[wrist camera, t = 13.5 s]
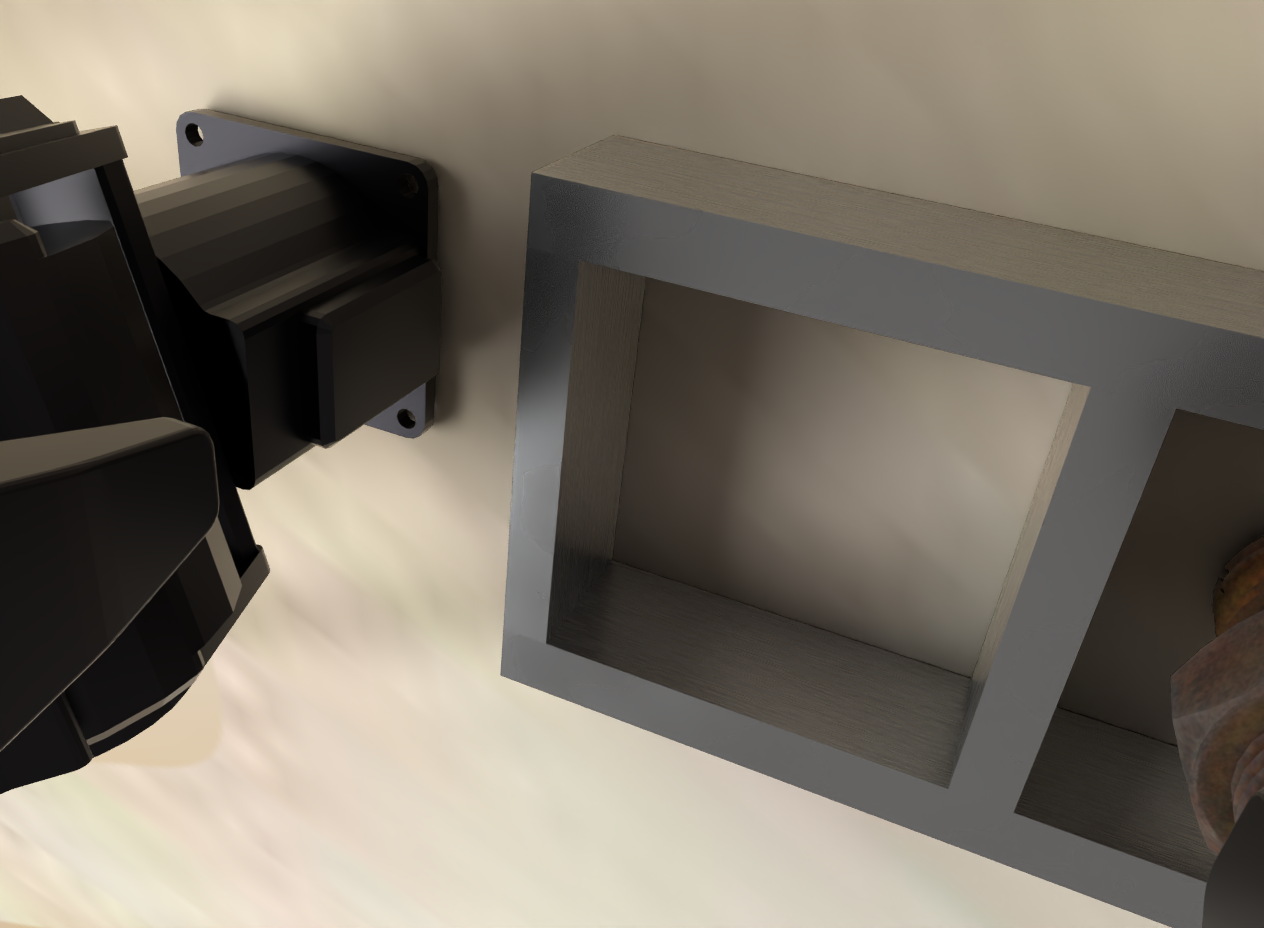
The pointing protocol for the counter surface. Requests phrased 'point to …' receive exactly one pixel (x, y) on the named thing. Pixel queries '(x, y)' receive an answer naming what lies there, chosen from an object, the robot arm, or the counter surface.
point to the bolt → (1225, 702)
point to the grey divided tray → (820, 660)
